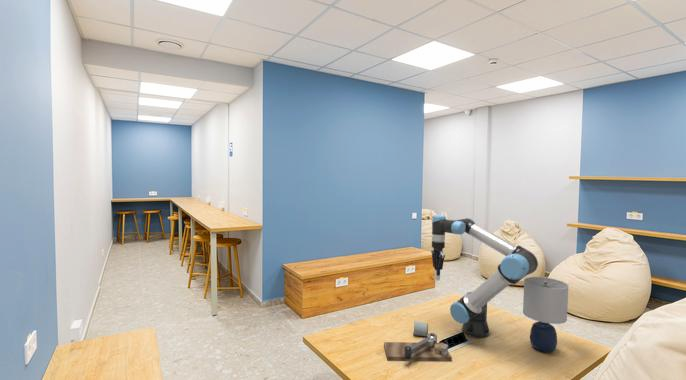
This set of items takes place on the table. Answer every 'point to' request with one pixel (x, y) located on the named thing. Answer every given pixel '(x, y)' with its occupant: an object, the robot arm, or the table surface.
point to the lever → (420, 345)
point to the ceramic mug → (420, 328)
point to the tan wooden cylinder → (438, 348)
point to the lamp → (545, 309)
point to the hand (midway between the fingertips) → (437, 280)
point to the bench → (397, 352)
